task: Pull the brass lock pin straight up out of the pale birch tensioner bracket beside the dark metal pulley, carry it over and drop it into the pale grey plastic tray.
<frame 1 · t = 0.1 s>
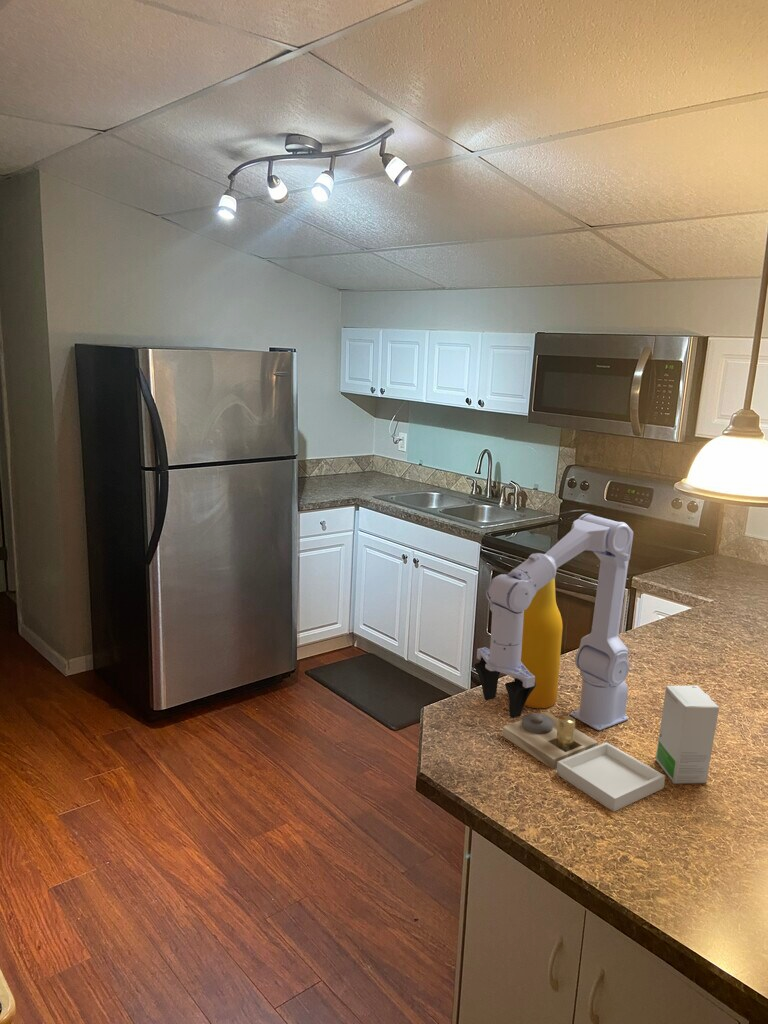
hand: (502, 707, 140), 10 cm above the counter, tool pointing down, fingers open, 7 cm apart
beer bottle: (535, 700, 165), on the counter
lock pin: (564, 752, 143), resting in tensioner bracket
skincare box: (681, 772, 138), on the counter
tensioner bracket: (549, 743, 147), on the counter
tray: (609, 780, 134), on the counter
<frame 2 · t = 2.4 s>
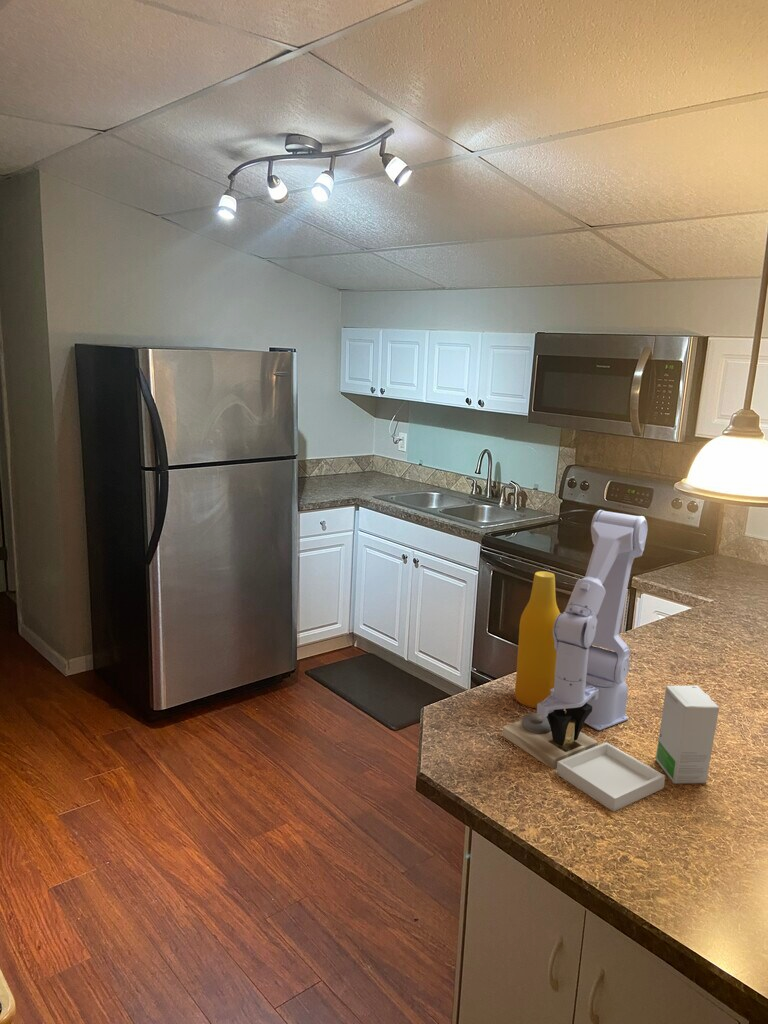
hand: (565, 740, 143), 3 cm above the counter, tool pointing down, fingers closed on lock pin, 3 cm apart
lock pin: (564, 752, 143), resting in tensioner bracket, touching gripper
everything else where it was.
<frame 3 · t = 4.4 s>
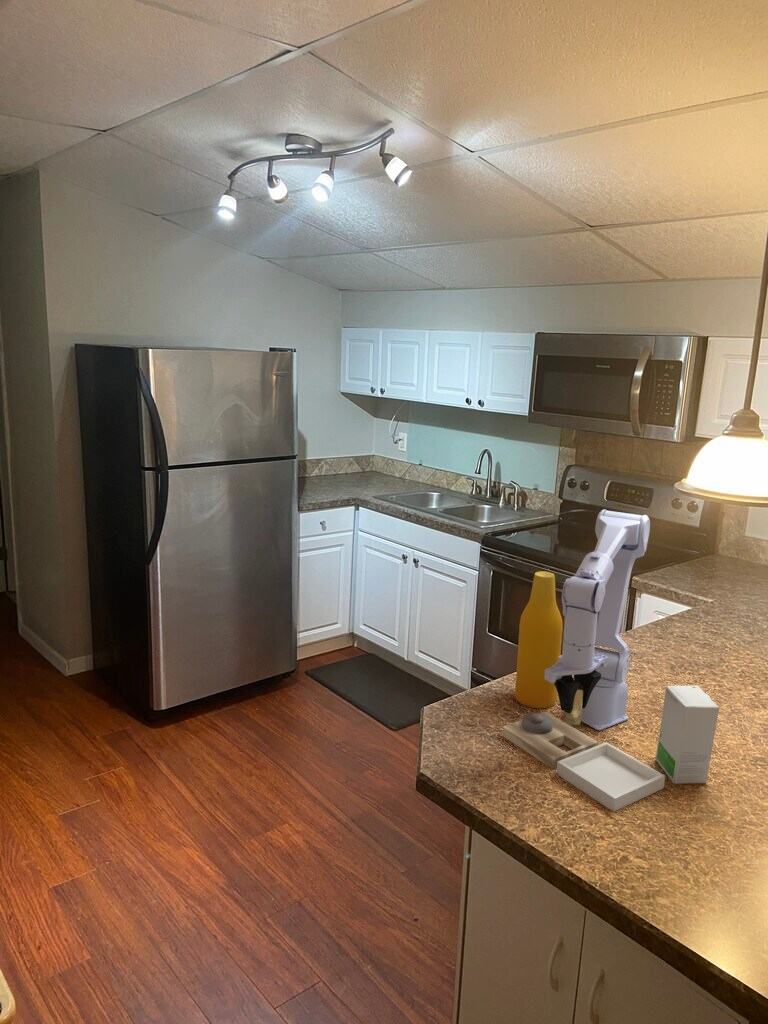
hand: (573, 708, 140), 10 cm above the counter, tool pointing down, fingers closed on lock pin, 3 cm apart
lock pin: (572, 721, 141), point 7 cm above the counter, touching gripper
everything else where it was.
when the fingers open (5 cm above the counter, at t = 6.6 s): lock pin drops 2 cm, resting on tray.
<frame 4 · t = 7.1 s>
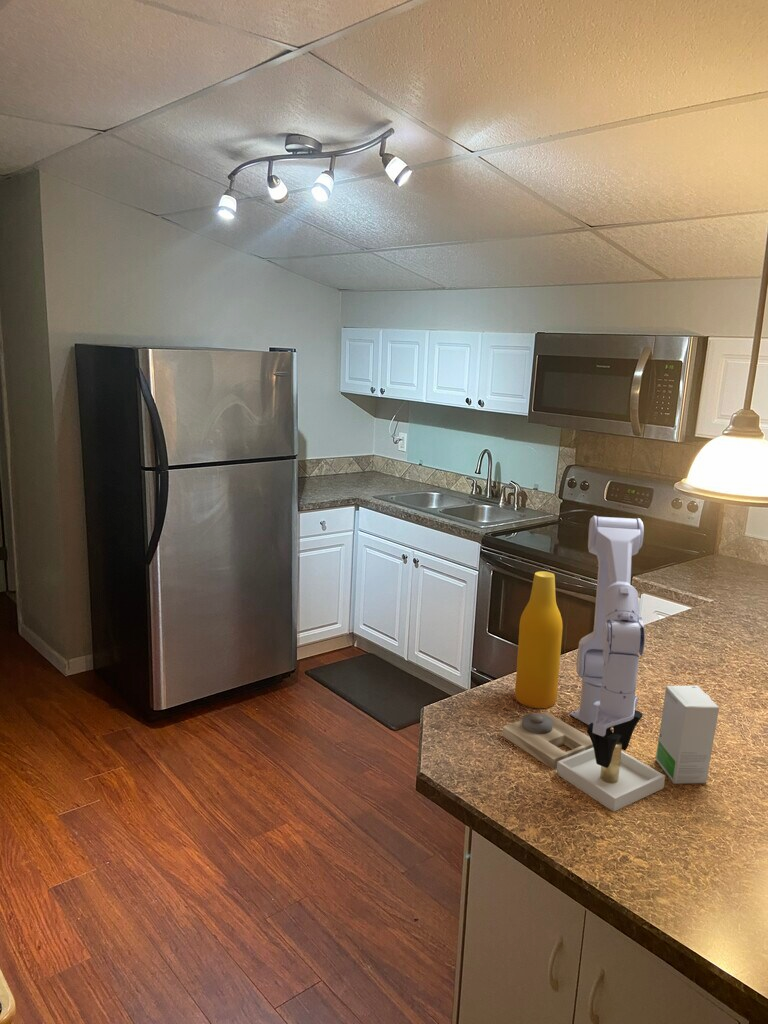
hand: (611, 756, 133), 5 cm above the counter, tool pointing down, fingers open, 7 cm apart
lock pin: (609, 778, 134), point 1 cm above the counter, touching tray
everything else where it was.
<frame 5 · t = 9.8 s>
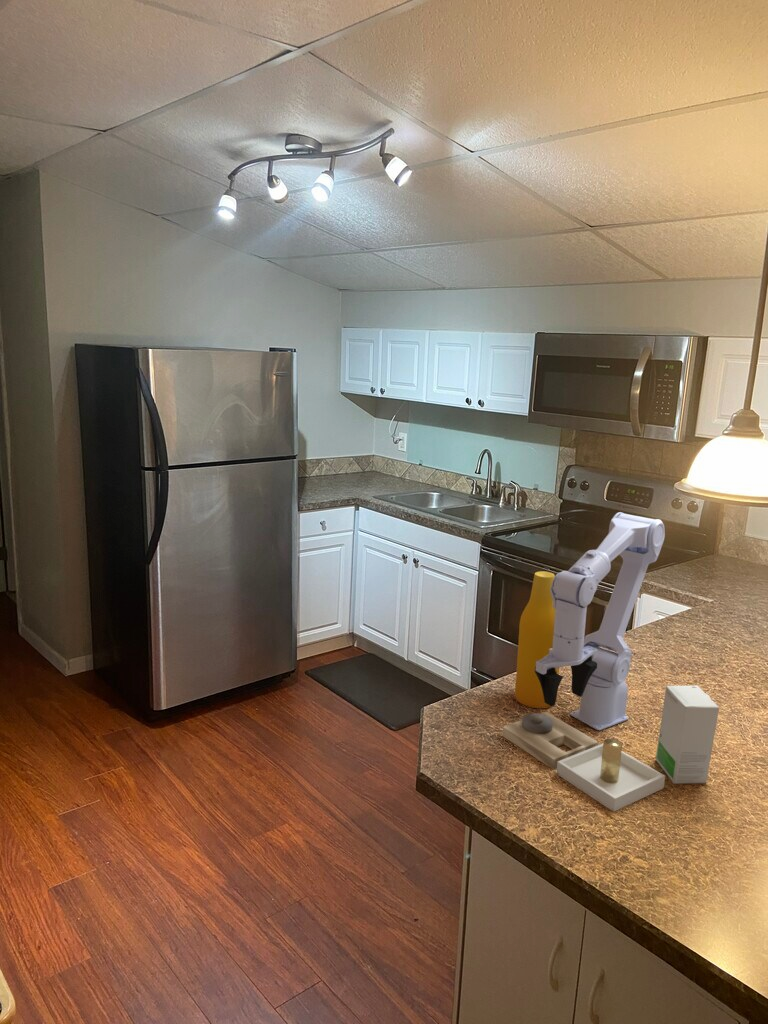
hand: (563, 699, 145), 9 cm above the counter, tool pointing down, fingers open, 7 cm apart
nothing on the counter moved.
at the end: lock pin inside the target area on the tray (0.1 cm from its centre), point 0.5 cm above the tray's base; the gripper is holding nothing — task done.
